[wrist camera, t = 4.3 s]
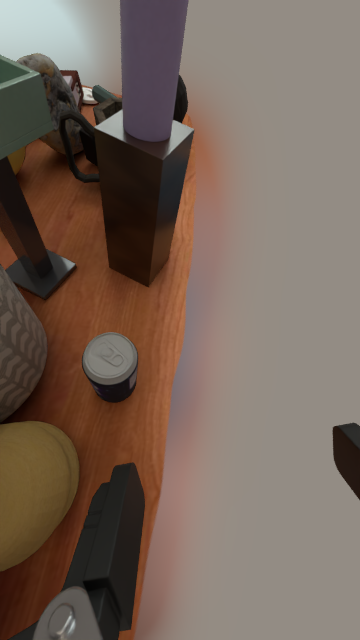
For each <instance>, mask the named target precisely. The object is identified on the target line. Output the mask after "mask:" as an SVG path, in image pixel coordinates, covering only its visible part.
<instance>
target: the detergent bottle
mask: <svg viewBox="0 0 360 640" xmlns="http://www.w3.org/2000/svg"><path fill="white" fill-rule="evenodd" d="M187 7H188V0H120V16H121V62H122V110H123V127H124V129H125V131H126V132H127V133H129V134H130V135H131V136H133V137H135V138H137V139H140V140H143V141H149V142H160V141H164V140H166V139H168V138H169V137H170V135H171V130H172V122H173V115H174V107H175V99H176V92H177V84H178V76H179V69H180V68H179V67H180V61H181V53H182V46H183V38H184V30H185V22H186V15H187Z"/></svg>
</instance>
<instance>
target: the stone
mask: <svg viewBox="0 0 360 640" xmlns="http://www.w3.org/2000/svg"><path fill="white" fill-rule="evenodd" d="M16 62H17V63H19V64H21V65H24V66H26V67H28V68H30V69H32V70H34V71H36V72H39V73H40V74H41V77H42V81H43V86H44V90H45V94H46V98H47V102H48V107H49V111H50V115H51V119H52V120H51V121H52V124H53V128H54V130H52V131H50V132H49V133H47V134H45V135H43V136H42V137H40V138H39V139H41V140H42V141H43V142H44V143H46V144H47V145H48V146H50V147H51V148H53V149H54V150H56V151H57V152H59V153H61V154H64V155H66V153H65V149H64V145H63V142H62V139H61V136H60V133H59V119H60V113H62V112H64V111H67V110H71V109H73V110H75V111H76V112H78V113H79V109H78V106H77V103H76V100H75V97H74V95H73V93H72V90H71V89H70V87H69V85H68V84H67V82H66V81H65V79H64V78H63V76H62V74H61V73H60V71H59V69H58V67H57V66H56V65H55V63H54V62H53V61H52V60H51V59H50V58H48V57H47V56H45V55H42V54H38V53H36V54H31V55H27V56H24V57H22V58H20V59H18V60H17V61H16ZM81 128H82V127H81V126H80V124H79V123H77V122H75V121H74V120H72V119H68V120H66V131H67V134H68V137H69V140H70V143H71V147H72V152H73V154H76V153H78V152H80V151H82V150H84V148H83V145H82V142H81V138H80V134H79V130H80V129H81Z"/></svg>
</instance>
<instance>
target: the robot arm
mask: <svg viewBox="0 0 360 640" xmlns="http://www.w3.org/2000/svg"><path fill="white" fill-rule="evenodd" d="M333 455H334V461H335V464H336V466H337V469H338V471H339V472H340V474H341V475H342V477H343V478H344V479H345V481H346V482H347V484H348V485H349V486H350V487H351V489H352V490H353V492H354V493H355V494H356V496H357V497H358V498H359V500H360V426H359V425H357V424H356V423H350V424H344V425H339V426H334V427H333ZM144 509H145V499H144V491H143V488H142V485H141V481H140V478H139V475H138V472H137V469H136V466H135V464H134V463H127V464H122V465H117V466H115V467H114V468H113V472H112V475H111V479H110V482H107V483H102V484H101V486H100V487H99V489H98V490H97V492H96V493H95V495H94V496H93V498H92V501H91V504H90V507H89V510H88V515H87V516H86V519H85V522H84V525H83V526H84V528H83V529H82V531H81V535H80V538H79V541H78V544H77V547H76V550H75V553H74V556H73V559H72V562H71V565H70V568H69V571H68V574H67V577H66V580H65V583H64V586H63V588H62V590H61V592H60V593H59V594H58V595H57V596H56V597H55V598H54V599H53V600H52V601H51V602H50V603H49V604H48V606H47V607H46V609H45V610H44V611H43V613H42V615H41V617H40V619H39V620H38V621H37V622H36V623H34V624H33V625H31V626H30V627H28V628H26V629H25V630H23V631H21V632H20V633H18V634H16V635H15V636H13V637H11V638H10V639H8V640H118V637H119V631H125V630H131V624H132V615H133V606H134V598H135V589H136V580H137V571H138V562H139V553H140V545H141V536H142V527H143V518H144Z"/></svg>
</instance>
